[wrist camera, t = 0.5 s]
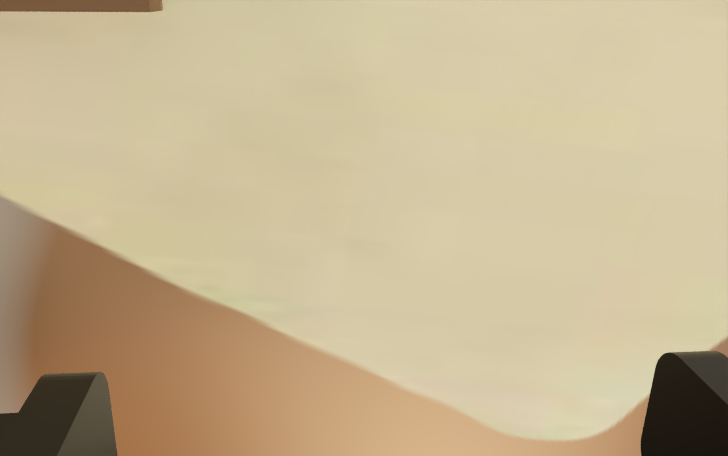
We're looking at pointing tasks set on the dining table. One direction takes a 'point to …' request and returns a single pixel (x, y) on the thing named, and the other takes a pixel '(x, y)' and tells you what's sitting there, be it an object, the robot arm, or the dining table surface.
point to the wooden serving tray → (82, 5)
